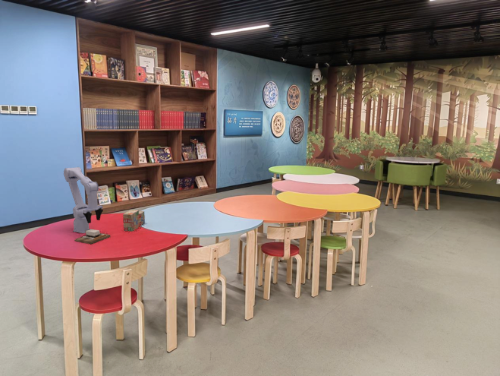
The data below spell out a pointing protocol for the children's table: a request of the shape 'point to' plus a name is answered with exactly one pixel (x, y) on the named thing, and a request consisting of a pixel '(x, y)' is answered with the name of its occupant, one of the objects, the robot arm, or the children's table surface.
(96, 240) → the dock
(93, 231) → the beige box with tabs
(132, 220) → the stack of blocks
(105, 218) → the children's table surface
